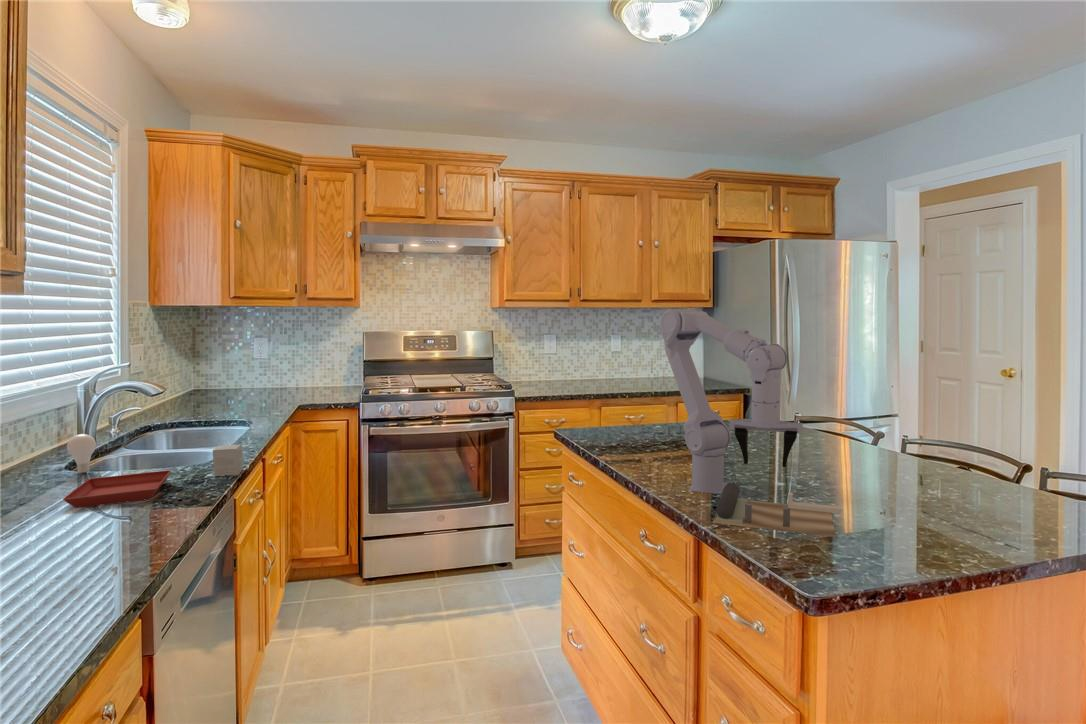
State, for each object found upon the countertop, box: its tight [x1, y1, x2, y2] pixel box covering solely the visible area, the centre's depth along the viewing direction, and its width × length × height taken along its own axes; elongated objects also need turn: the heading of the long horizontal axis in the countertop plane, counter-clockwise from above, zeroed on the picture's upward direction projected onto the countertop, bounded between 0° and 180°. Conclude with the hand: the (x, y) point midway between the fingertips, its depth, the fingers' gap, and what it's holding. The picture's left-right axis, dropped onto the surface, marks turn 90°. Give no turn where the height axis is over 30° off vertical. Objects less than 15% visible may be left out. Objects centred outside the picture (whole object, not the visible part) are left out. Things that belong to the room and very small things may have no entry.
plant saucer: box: [62, 469, 172, 508], centre depth 144 cm, size 18×18×3 cm
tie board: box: [712, 497, 837, 538], centre depth 121 cm, size 17×22×4 cm
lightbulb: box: [66, 433, 97, 475], centre depth 164 cm, size 6×6×11 cm
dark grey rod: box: [715, 483, 740, 519], centre depth 125 cm, size 14×3×3 cm
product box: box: [212, 443, 244, 477], centre depth 162 cm, size 6×6×7 cm
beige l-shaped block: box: [787, 491, 843, 514], centre depth 113 cm, size 2×9×3 cm, turn 67°
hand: (764, 464), depth 128 cm, fingers open, 7 cm apart
